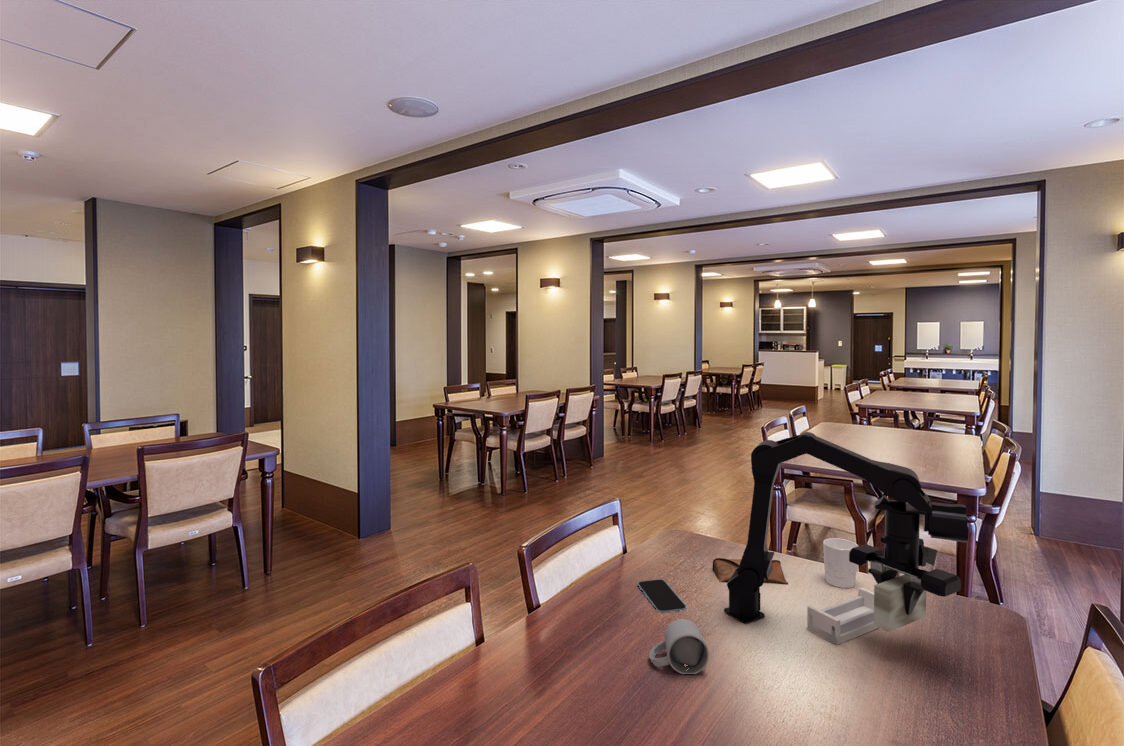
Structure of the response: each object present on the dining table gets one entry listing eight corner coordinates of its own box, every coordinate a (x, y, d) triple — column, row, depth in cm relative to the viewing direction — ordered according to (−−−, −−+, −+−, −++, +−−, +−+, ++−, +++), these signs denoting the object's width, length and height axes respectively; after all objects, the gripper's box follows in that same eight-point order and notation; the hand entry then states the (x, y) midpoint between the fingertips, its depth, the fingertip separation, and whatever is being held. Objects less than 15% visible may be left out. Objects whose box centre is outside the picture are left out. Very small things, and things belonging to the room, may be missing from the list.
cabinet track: (836, 645, 110) (837, 621, 110) (807, 629, 117) (807, 606, 116) (891, 622, 119) (891, 600, 118) (860, 608, 125) (861, 587, 125)
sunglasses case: (718, 582, 139) (715, 555, 142) (713, 585, 145) (711, 559, 148) (791, 584, 138) (787, 556, 141) (783, 587, 144) (779, 561, 147)
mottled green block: (888, 632, 104) (889, 591, 103) (873, 625, 106) (874, 585, 106) (925, 616, 109) (926, 577, 109) (910, 610, 112) (911, 572, 111)
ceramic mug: (700, 650, 109) (699, 613, 109) (709, 675, 101) (708, 635, 101) (647, 651, 110) (646, 614, 109) (652, 676, 102) (651, 636, 101)
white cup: (849, 576, 142) (850, 538, 141) (863, 590, 134) (864, 550, 133) (818, 575, 143) (818, 537, 142) (829, 589, 135) (830, 549, 134)
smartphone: (658, 611, 124) (636, 581, 139) (658, 616, 124) (636, 585, 139) (688, 608, 126) (663, 578, 140) (688, 612, 126) (663, 582, 140)
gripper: (978, 540, 102) (975, 621, 103) (880, 513, 119) (879, 583, 120) (944, 552, 97) (942, 637, 98) (847, 521, 114) (846, 594, 115)
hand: (900, 610), depth 108 cm, fingers closed on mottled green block, 3 cm apart
